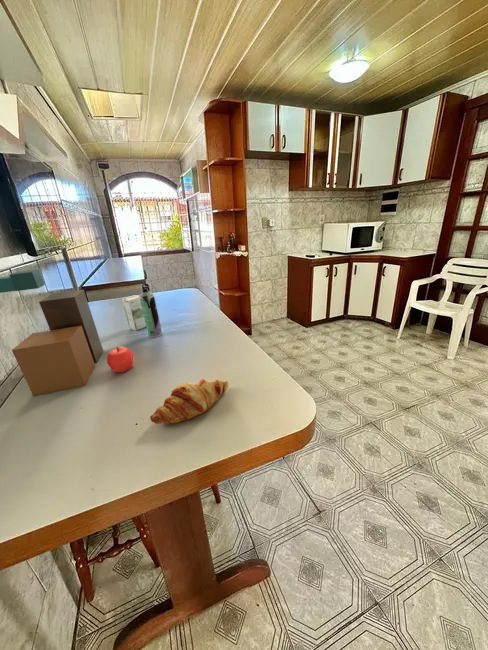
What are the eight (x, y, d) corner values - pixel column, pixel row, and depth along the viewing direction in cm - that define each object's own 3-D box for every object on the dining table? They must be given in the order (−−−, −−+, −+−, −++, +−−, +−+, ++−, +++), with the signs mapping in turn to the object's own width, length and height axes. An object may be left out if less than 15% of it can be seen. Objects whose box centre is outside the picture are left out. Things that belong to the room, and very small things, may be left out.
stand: (65, 369, 91) (38, 301, 82) (74, 355, 100) (51, 293, 91) (96, 363, 93) (74, 296, 84) (103, 350, 102) (83, 289, 93)
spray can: (163, 335, 111) (153, 288, 103) (150, 338, 108) (139, 291, 101) (160, 331, 115) (150, 285, 108) (147, 334, 113) (136, 288, 105)
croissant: (223, 394, 76) (213, 368, 76) (242, 393, 68) (230, 364, 68) (151, 433, 63) (139, 401, 64) (163, 438, 55) (150, 402, 55)
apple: (126, 376, 83) (119, 353, 80) (104, 374, 85) (97, 352, 82) (141, 363, 90) (135, 341, 87) (120, 362, 92) (114, 341, 89)
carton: (32, 395, 77) (11, 350, 71) (49, 374, 88) (32, 333, 82) (85, 385, 80) (68, 340, 74) (95, 366, 91) (81, 325, 85)
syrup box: (140, 324, 125) (133, 294, 119) (147, 326, 121) (140, 296, 116) (129, 328, 121) (121, 298, 115) (136, 331, 117) (128, 299, 112)
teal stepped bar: (-32, 297, 78) (-40, 280, 76) (-21, 292, 82) (-28, 276, 80) (38, 288, 81) (32, 272, 79) (45, 284, 86) (39, 269, 84)
